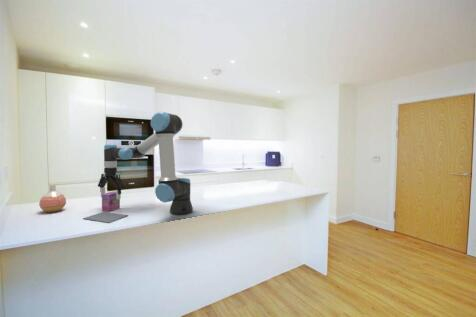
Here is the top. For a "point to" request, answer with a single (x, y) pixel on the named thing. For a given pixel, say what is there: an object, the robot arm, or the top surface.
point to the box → (110, 202)
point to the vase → (52, 200)
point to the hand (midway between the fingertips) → (110, 198)
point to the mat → (105, 217)
